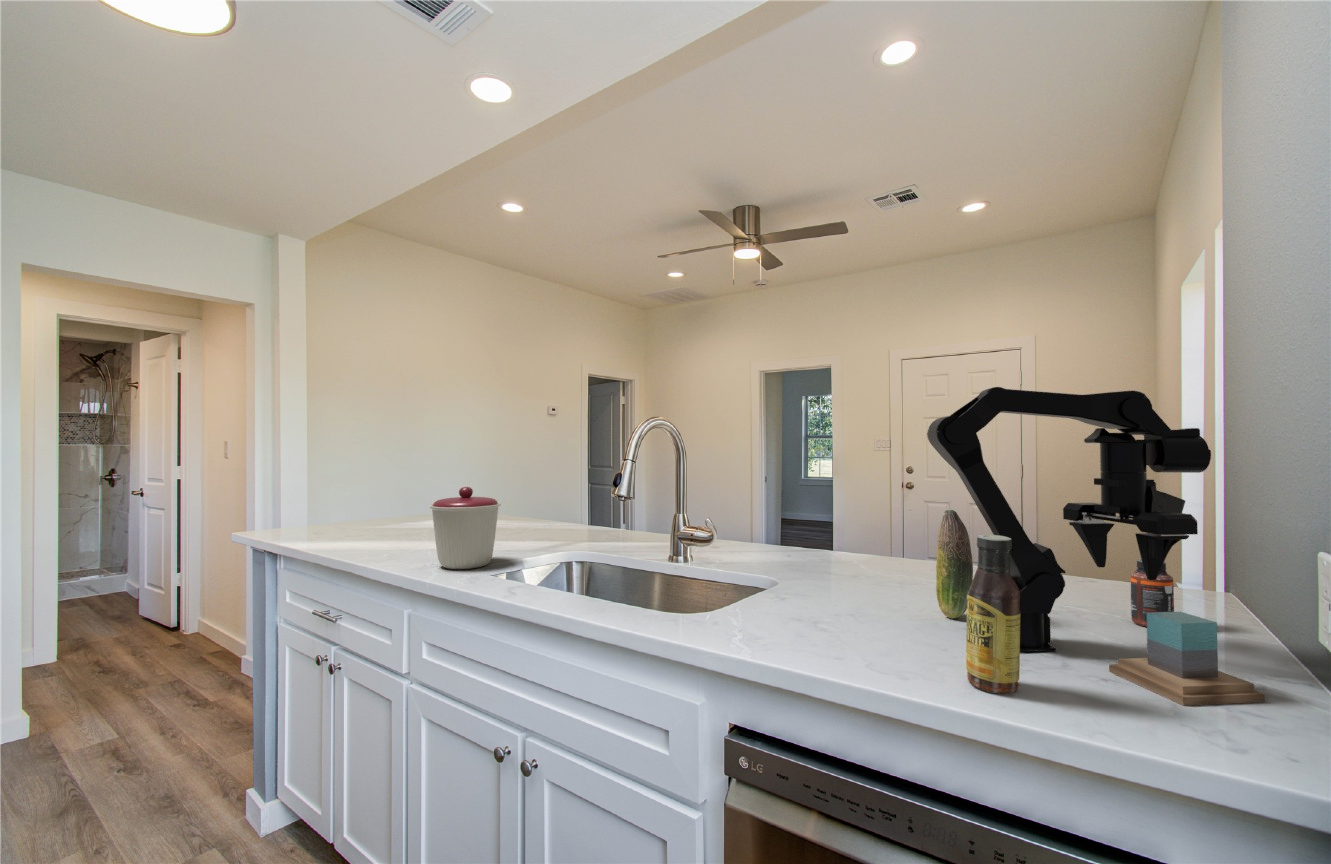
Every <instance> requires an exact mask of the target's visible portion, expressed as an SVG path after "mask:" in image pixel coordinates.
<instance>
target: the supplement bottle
mask: <svg viewBox="0 0 1331 864" xmlns="http://www.w3.org/2000/svg"><path fill="white" fill-rule="evenodd" d="M1136 567H1137V568H1136V569H1135V570H1134V571H1132V572H1131V573H1130V577H1129V578H1130V581H1129V582H1130V611H1131V612H1130V614H1131V615H1130V616H1131V621H1132V623H1134V624H1136V625H1137V626H1141V627H1144V628H1147V613H1150V612H1175V594H1174V593H1175V592H1174V591H1175V590H1174V579H1173V576H1171V574H1168V573H1167V564H1166V562H1165V561H1164V563H1163V565H1162V568H1161V570H1160V572H1159V574H1158V577H1157V579H1156V580H1148V579H1147V577H1146V574H1145V571H1144V567H1143V563H1142V559H1141V558H1139V559H1136Z"/></svg>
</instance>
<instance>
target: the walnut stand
mask: <svg viewBox="0 0 1331 864" xmlns="http://www.w3.org/2000/svg"><path fill="white" fill-rule="evenodd" d="M1108 672H1110V673H1111V674H1113V675H1115V676H1118V677H1120V678H1123V679H1125V680H1126V681H1129V682H1131V683H1133V684H1136V685H1138V686H1140V687H1142V688H1144V689H1146V690H1149V691H1150V692H1153V693H1155V694H1157V695H1159V696H1161V697H1164V698H1166V699H1168V700H1170V701H1172V702H1175V703H1177V704H1179V705H1181V706H1205V705H1223V704H1225V705H1226V704H1227V705H1228V704H1246V703H1247V704H1248V703H1249V704H1250V703H1251V704H1252V703H1265V702H1266V693H1263V692H1261V691H1259V690H1255V688H1254V683H1253V682H1250V681H1247V680H1245V679H1242V678H1239V677H1237V676H1234V675H1231V674H1228V673H1226V672H1223V671H1220V670H1218V677H1208V678H1183V679H1182V678H1180V677H1178V676H1175V675H1173V674H1170V673H1168V672H1165V671H1163V670H1160V669H1158V668H1156V667H1153V666H1151V665H1148V657H1136V658H1135V657H1133V658H1117V663H1115V664H1112V663H1111V664H1109V666H1108Z"/></svg>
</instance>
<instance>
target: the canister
mask: <svg viewBox="0 0 1331 864" xmlns="http://www.w3.org/2000/svg"><path fill="white" fill-rule="evenodd" d="M473 493H474V491H473V488H472V487H469V486H464V487H463V486H462V487H461V488H460V489H459V491H458V495H459V497H458V496H456V497H447V498H441V499H437V500H436V501H435V502H433V503H432V504H430V505H429V508H430V509H431V510H432V520H433V521H432V523H433V530H434V540H435V546H436V555H437V560H438V562H439V564H440V565H441V566H442V567H443V568H446V569H449V570H471V569H478V568H482V567H484V566H487V565H488V564H490V562H491V561H492V558H493V554H494V547H495V539H496V531H497V524H498V523H497V522H498V515H499V507H500V506H501V504H502V503H501V502H499V501H498V500H496V499H494V498H493V497H487V496H486V497H485V496H473Z"/></svg>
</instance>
